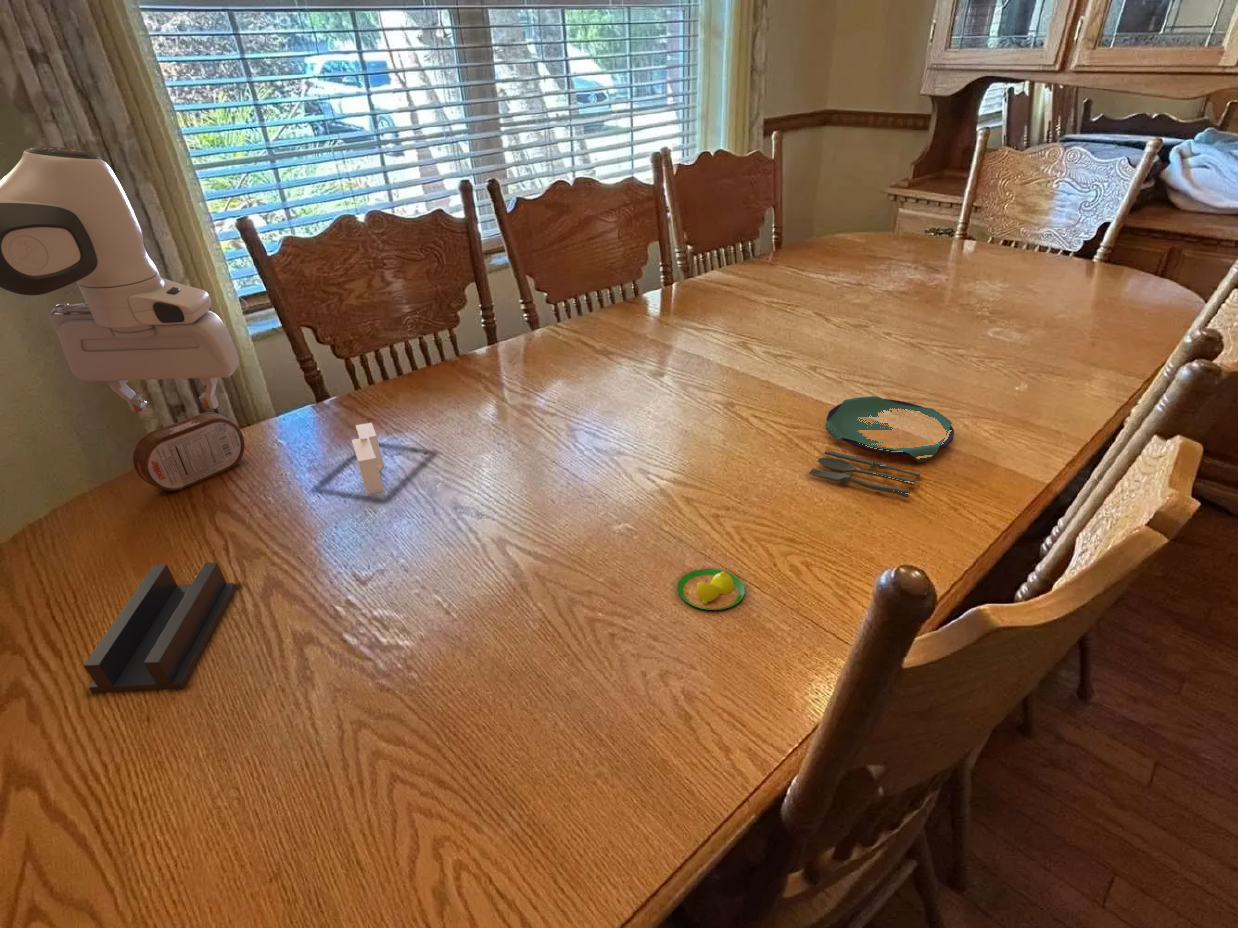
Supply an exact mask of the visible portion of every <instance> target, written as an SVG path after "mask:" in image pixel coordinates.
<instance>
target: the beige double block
mask: <svg viewBox="0 0 1238 928" xmlns="http://www.w3.org/2000/svg"><path fill="white" fill-rule="evenodd" d="M354 426H355V429H356V430H355V431H356V433H357V437H358V438H353V439H351V443H352V448H353V451H354V454H355V458H356V461H357V465H358V469H359V473H360V476H361V479H362V483H363V486H364V488H365V492H366V494H367V495H370V494H375V493H380V492H384V491H385V488H384V484H383V480H382V476H381V472H380V471H383V469H384V468H385V465H384V461H383V456H382V453H381V448H380V445H379V440H378V437H377V433H376V430H375V427H374V425H373V422H366V423H360V424H355V425H354Z"/></svg>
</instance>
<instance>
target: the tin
mask: <svg viewBox="0 0 1238 928" xmlns="http://www.w3.org/2000/svg"><path fill="white" fill-rule="evenodd" d="M245 447H246V445H245V437H244V434H243V432H242V430H241V428H240V427H239V426H238V425H237V424H236V423H234V422H233V421H232V420H230V419H229V418H227V417H226V416H224V415H222V414H221V413H216V412H211V411H209V412H202V413H200V414H196V415H193V416H191V417H188V418H186V419H182V420H180V421H177V422H174V423H172V424H169V425H166V426H163V427H160V428H157V429H154V430H151V431H149V432H148V433H146V434H144V435H143V436H141V438H140V439H139V441H138V442H137V443H136V445H135V447H134V449H133V453H132V465H133V468H134V470H135V473H136V474H137V476H138V477H139V478H140V479H141V480H143V481H144V482H145V483H147V484H149V485H151V486H153V487H155V488H157V489H158V490H162V491H166V492H167V491H168V492H177V491H178V492H179V491H182V490H184V489H186V488H189V487H191V486H194V485H196V484H198V483H200V482H203V481H205V480H208V479H211V478H212V477H215V476H217V475H219V474H221V473H224V472H226V471H229V470H231V469H232V468H234V467H236V466H237V465H238V464H239V463H240V461H241V460H242V458H243V455H244V453H245V450H246V449H245Z"/></svg>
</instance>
